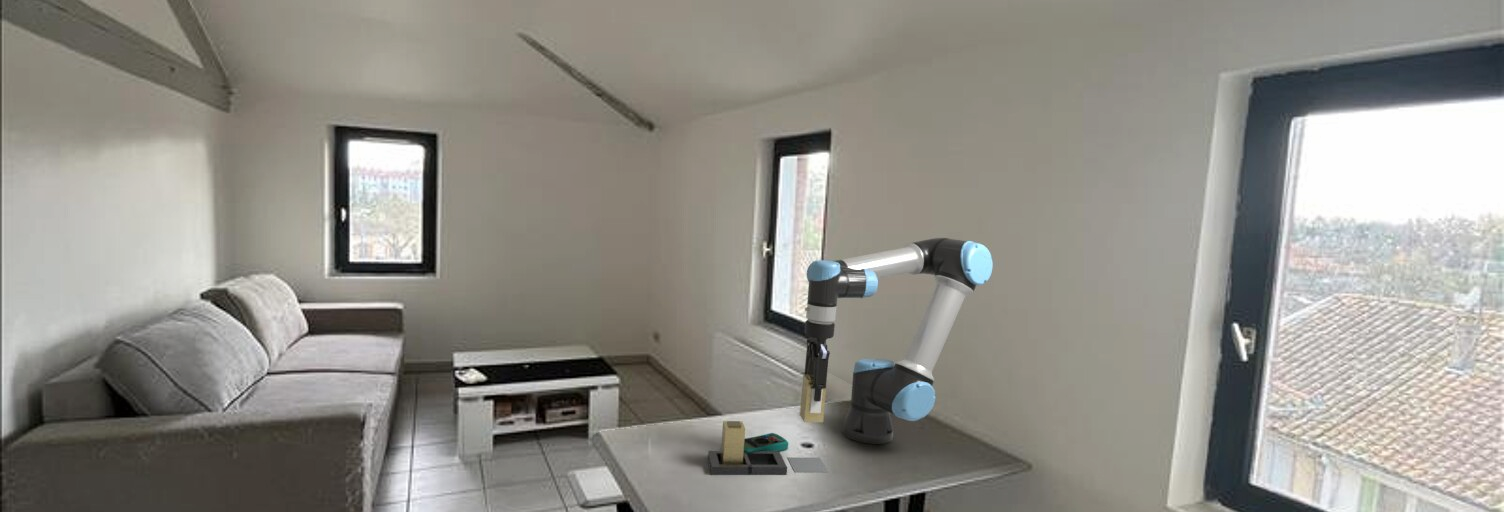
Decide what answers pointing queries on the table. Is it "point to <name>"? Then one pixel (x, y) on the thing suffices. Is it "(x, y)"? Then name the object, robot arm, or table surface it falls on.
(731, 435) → the gold rectangular block
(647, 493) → the table surface
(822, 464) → the mat
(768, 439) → the digital multimeter
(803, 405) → the tan rectangular block
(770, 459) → the dark grey block holder
